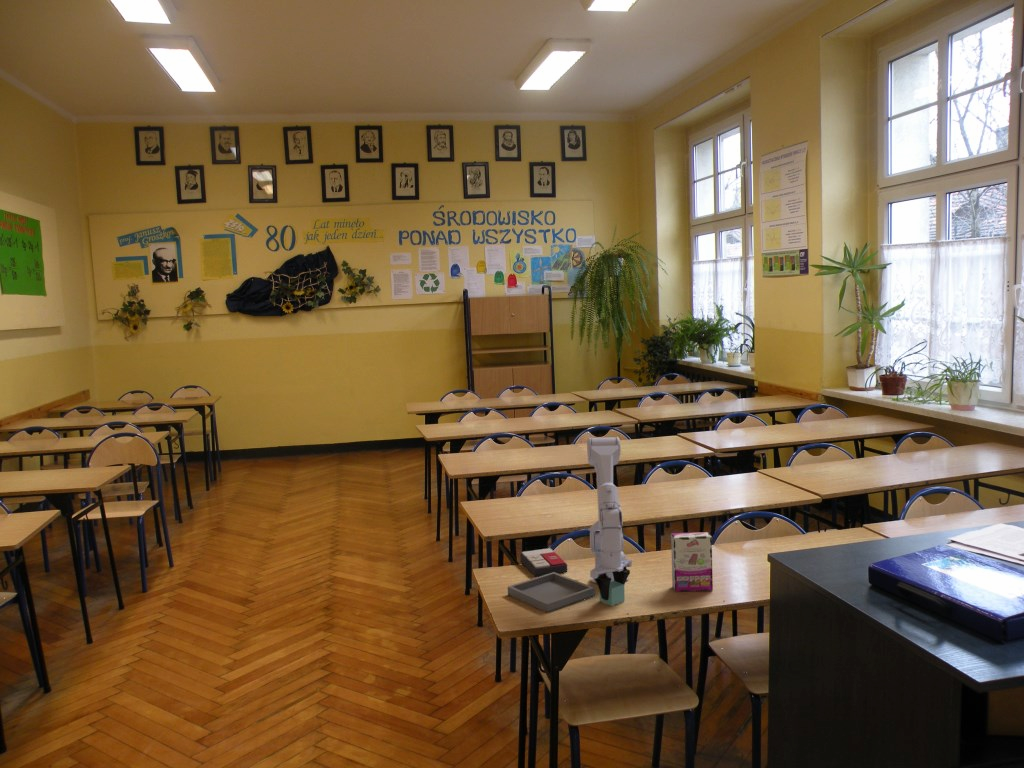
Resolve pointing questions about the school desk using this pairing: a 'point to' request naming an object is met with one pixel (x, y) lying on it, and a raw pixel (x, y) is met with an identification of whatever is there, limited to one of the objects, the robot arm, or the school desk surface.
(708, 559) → the candy bar box
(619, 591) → the teal cube
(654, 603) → the school desk surface
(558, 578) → the charcoal tray
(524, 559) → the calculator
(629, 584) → the school desk surface
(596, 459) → the robot arm
